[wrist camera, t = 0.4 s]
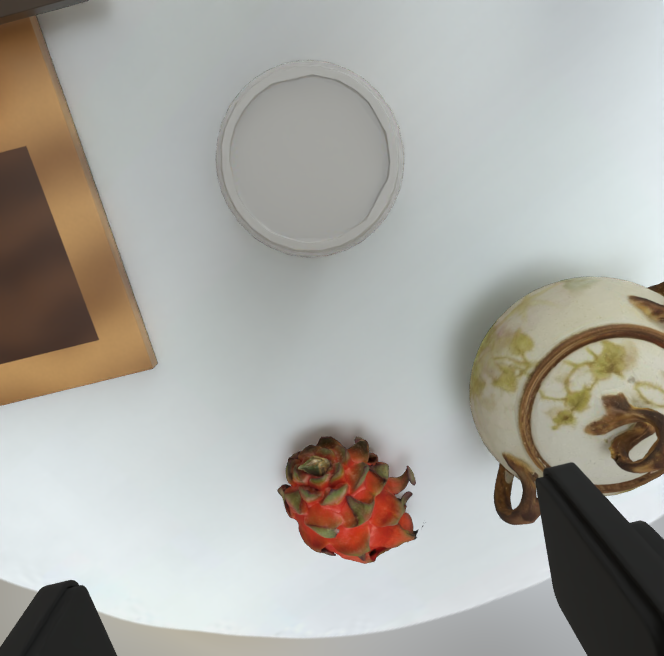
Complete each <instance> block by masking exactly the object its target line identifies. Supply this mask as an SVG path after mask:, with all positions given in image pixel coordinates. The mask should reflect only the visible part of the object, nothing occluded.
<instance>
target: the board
mask: <svg viewBox="0 0 664 656" xmlns="http://www.w3.org/2000/svg"><path fill="white" fill-rule="evenodd" d="M156 365H157V361H156V358H155V355H154V352H153V349H152V346H151V343H150V340H149V338H148V335H147V332H146V329H145V326H144V323H143V320H142V318H141V315H140V312H139V309H138V306H137V303H136V300H135V298H134V295H133V292H132V289H131V286H130V283H129V280H128V278H127V275H126V272H125V269H124V266H123V263H122V260H121V258H120V255H119V252H118V249H117V246H116V243H115V240H114V238H113V235H112V232H111V229H110V226H109V223H108V220H107V218H106V215H105V212H104V209H103V206H102V203H101V200H100V198H99V195H98V192H97V189H96V186H95V183H94V180H93V178H92V175H91V172H90V169H89V166H88V163H87V160H86V158H85V155H84V152H83V149H82V146H81V143H80V140H79V138H78V135H77V132H76V129H75V126H74V123H73V120H72V118H71V115H70V112H69V109H68V106H67V103H66V100H65V98H64V95H63V92H62V89H61V86H60V83H59V80H58V77H57V75H56V72H55V69H54V66H53V63H52V60H51V57H50V55H49V52H48V49H47V46H46V43H45V40H44V37H43V35H42V32H41V29H40V26H39V23H38V20H37V17H36V15H35V16H31V17H27V18H24V19H20V20H16V21H13V22H9V23H5V24H2V25H0V406H2V405H6V404H10V403H14V402H18V401H22V400H26V399H30V398H34V397H39V396H43V395H47V394H51V393H55V392H59V391H63V390H67V389H71V388H76V387H80V386H84V385H88V384H92V383H96V382H100V381H104V380H108V379H113V378H117V377H121V376H125V375H129V374H133V373H137V372H141V371H145V370H150V369H153V368H154V367H155V366H156Z"/></svg>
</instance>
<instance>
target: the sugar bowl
mask: <svg viewBox="0 0 664 656" xmlns="http://www.w3.org/2000/svg"><path fill="white" fill-rule="evenodd" d="M470 406H471V412H472V415H473V419H474V422H475V425H476V428H477V430H478V433H479V435H480V437H481V439H482V441H483V442H484V444H485V445H486V447H487V448H488V450H489V451H490V452H491V454H492V455H493V456H494V457H495V458H496V460H497V461H498V462H499V463H500V464H499V470H498V474H497V479H496V483H495V491H494V504H495V508H496V511H497V513H498V515H499V516H500V518H501V519H502V520H503V521H505V522H506V523H509V524H512V525H521V524H530V523H533V522H535V520H536V519H537V518H538V517H539V516H540V515H541V513H540V507H539V502H538V498H536V483H535V481H536V478H540V477H543V470H544V468H548V467H553V466H557V465H561V464H565V463H570V462H573V463H575V464H576V465H577V466H578V467H579V468H580V469H581V471H582V472H583V473H584V474H585V475H586V476H587V477H588V478H589V479H590V480H591V482H592V483H593V484H594V485H595V486H596V487H597V488H598V489H599V490H600V491H601V492H602V494H603V495H604V496H610V495H617V494H620V493H624V492H628V491H631V490H633V489H635V488H637V487H640V486H642V485H644V484H646V483H648V482H650V481H652V480H654V479H656V478H657V477H659V476H661V475H662V474H664V282H662V283H660V284H658V285H654V286H650V287H648V288H646V287H643V286H641V285H638V284H635V283H633V282H630V281H625V280H621V279H616V278H609V277H578V278H571V279H566V280H562V281H559V282H555V283H552V284H549V285H546V286H544V287H541V288H539V289H537V290H534V291H533V292H531V293H529V294H528V295H526V296H524V297H523V298H521V299H520V300H518V301H517V302H516V303H515V304H513V305H512V306H511V307H509V308H508V309H507V310H506V311H505V312H504V313H503V314H502V315H501V316H500V317H499V318H498V319H497V321H496V322H495V323H494V325H493V326H492V327H491V328H490V330H489V331H488V333H487V334H486V336H485V337H484V339H483V341H482V343H481V345H480V347H479V349H478V352H477V355H476V357H475V360H474V363H473V368H472V372H471V378H470ZM514 476H515V477H517V478H518V479H520V480H521V483H522V488H523V495H522V499H521V502H520V504H519V506H518V507H517V508H515V509H514V510H513V509H512V507H511V501H510V496H511V488H512V482H513V477H514Z"/></svg>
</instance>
